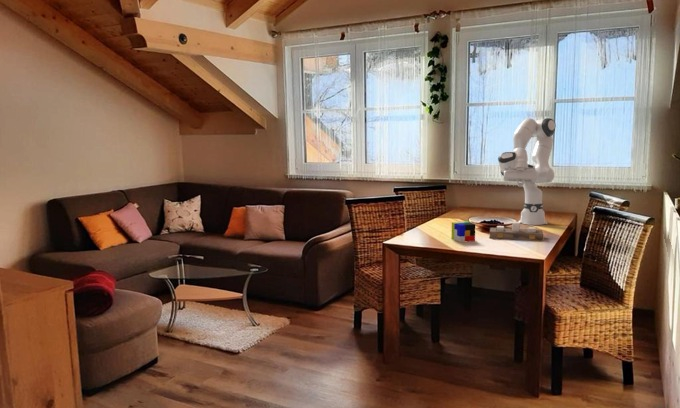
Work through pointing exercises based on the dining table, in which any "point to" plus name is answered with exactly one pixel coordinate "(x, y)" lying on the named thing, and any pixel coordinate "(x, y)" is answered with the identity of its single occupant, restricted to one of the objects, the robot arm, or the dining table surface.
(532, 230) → the plunger
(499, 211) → the dining table surface
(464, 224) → the puzzle toy
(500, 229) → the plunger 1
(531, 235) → the console
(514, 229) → the plunger middle
